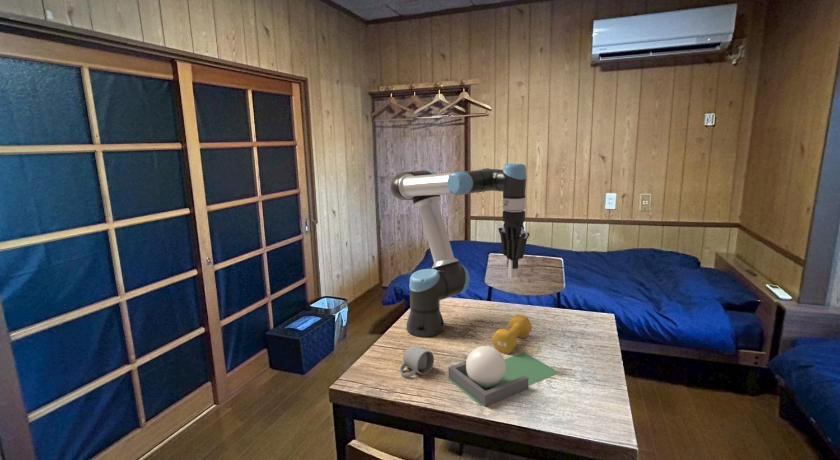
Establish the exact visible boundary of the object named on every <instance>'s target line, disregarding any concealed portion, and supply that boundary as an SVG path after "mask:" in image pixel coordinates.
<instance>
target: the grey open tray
mask: <svg viewBox="0 0 840 460" xmlns="http://www.w3.org/2000/svg"><path fill="white" fill-rule="evenodd" d="M466 361H467V360H466ZM466 361H462V362H460V363H457V364H454V365H451V366H448V367H447V368H448V379H451V380H452V381H454V382H455V383H456V384H457V385H459V386H460V387H461V388H462V389H464V390H465V391H466V392H467V393H469V394H470V395H471V396H472V397H474V398H475V399H476V400H477V401H479V402H480V403H481V404H482V405H481V406H484V407H487V406H490V405H492V404H494V403H497V402H500V401H502V400H504V399H506V398H509V397H511V396H514V395H516V394H517V393H519V394H520V393H521V392H523V391H526V390H528V389H529V386H528V377H526V376H523V377H520V378H518V379H515V380H513V381H510V382H507V383H505V384H502V385H500V386H497V387H495V388H492V389H490V390H487V391H485V390H484V389H482V388H481V387H480V386H478V385H477V384H476V383H474V382H473V381H472V380H470V379H469V378H468V377H466V376H465V374H467V371H466Z"/></svg>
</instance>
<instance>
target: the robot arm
mask: <svg viewBox="0 0 840 460" xmlns="http://www.w3.org/2000/svg"><path fill="white" fill-rule="evenodd" d="M527 177H528V176H527V166H526V165H525V164H523V163H506V164H504V165H503V167H502V169H500V168H499V169H497V168H490V167H489V168H487V167H486V168H480V169H476V170H475V169H474V170H468V171H467V170H466V171H455V172H445V173H444V172H443V173H437V172H435V171H433V170H430V169H429V170H428V169H422V170H414V171H413V170H412V171H403V172H399V173H397V174H396V175H395V176H393V178H392V180H391V182H390V191H391V193H392V195H393V197H395V198H396V199H398V200H401V201H412V203H413V206H414V207H416V208H418V211H419V214H420V218H421V222H422V225H423V229H424V232H425V236H426V239H427V243H428V246H429V247H428V248H429V249H430V253H431V258H432V260H433V265H432V267H431V268H426V269H425V268H423V269H419V270H416V271H414V272H413V273H412V274H411V275H410V277H409V284H408V287H409V288H408V289H409V303H410V304H409V305H410V308H409V309H410V311H409V315H408V317H407V321H406V331H407V332H408V333H409V335H412V336H415V337H423V338H426V337H427V338H429V337H434V336H438V335H441V334H442V333H443V332H444V331H445V321H444V318H443V316H442V313H441V310H440V309H441V308H440V302H441V301H443V300H445V299H449V298H451V297H454V296H458V295H460V294H463V293H464V292H465V291H467V289H468V287H469V286H470V285H469V284H470V273H469V271H468V269H467V268H466V267H465V266H464V265H462V264H460V260H459V259H457V258H455V255H454V253H453V249H452V245H451V242H450V240H449V234H448V231H447V228H446V225H445V221H444V218H443V214H442V211H441V208H440V204H439V201H441V195H442V196H443V195H445V196H446V195H454V196H465V195H469V194H474V193H477V194H478V193H483V192H491V191H494V192H502V209H503V210H502V218H501V219H502V221H503V222H504V223H503V226H502V227H498V232H499V234H500V242H501V248H502V255H503V256H505V257H506V259H507V267H508V269H507V278H509V279H513V278H517V277H518V269H519V260H521V259H524V256H525V252H526V245H527V241H528V239H529V237H530V232H526V231H525V226H524V223H525V221H526V211H525V210H526V207H527V206H526V205H527V204H526V201H527V200H526V198H527V197H526V195H527V194H526V191H527V190H526V187H527Z"/></svg>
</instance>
